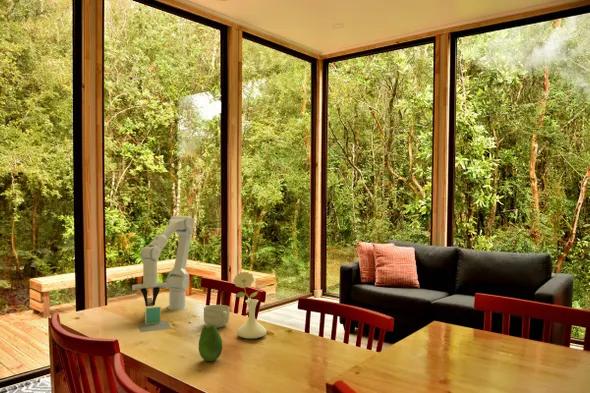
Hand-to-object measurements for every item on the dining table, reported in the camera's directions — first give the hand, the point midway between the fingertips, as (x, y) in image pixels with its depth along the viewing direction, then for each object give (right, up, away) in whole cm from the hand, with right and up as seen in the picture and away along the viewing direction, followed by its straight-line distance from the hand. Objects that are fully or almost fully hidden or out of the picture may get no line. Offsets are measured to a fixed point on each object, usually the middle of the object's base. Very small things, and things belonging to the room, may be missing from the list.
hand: (150, 305), depth 200 cm
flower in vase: (+46, -7, -23) cm, 52 cm away
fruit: (+35, -7, -49) cm, 61 cm away
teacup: (+32, -7, -11) cm, 34 cm away
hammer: (0, -3, -1) cm, 3 cm away
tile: (+4, -6, -8) cm, 11 cm away
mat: (+6, -6, -12) cm, 15 cm away
